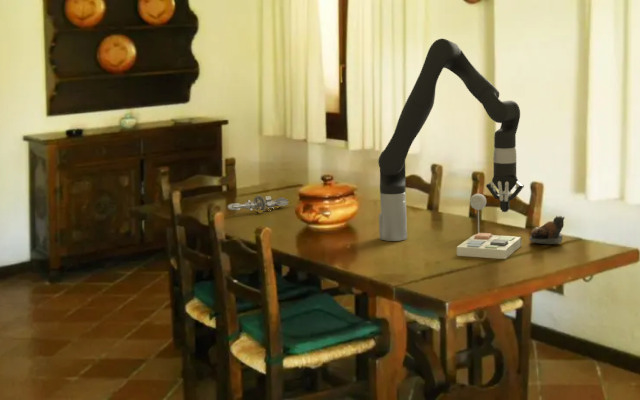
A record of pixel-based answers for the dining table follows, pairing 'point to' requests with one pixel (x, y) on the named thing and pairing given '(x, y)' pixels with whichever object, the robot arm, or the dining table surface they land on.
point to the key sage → (506, 238)
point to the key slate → (476, 242)
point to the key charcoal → (499, 242)
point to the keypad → (488, 248)
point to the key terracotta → (483, 236)
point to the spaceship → (259, 203)
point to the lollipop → (478, 203)
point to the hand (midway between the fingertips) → (504, 211)
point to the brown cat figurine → (548, 232)
